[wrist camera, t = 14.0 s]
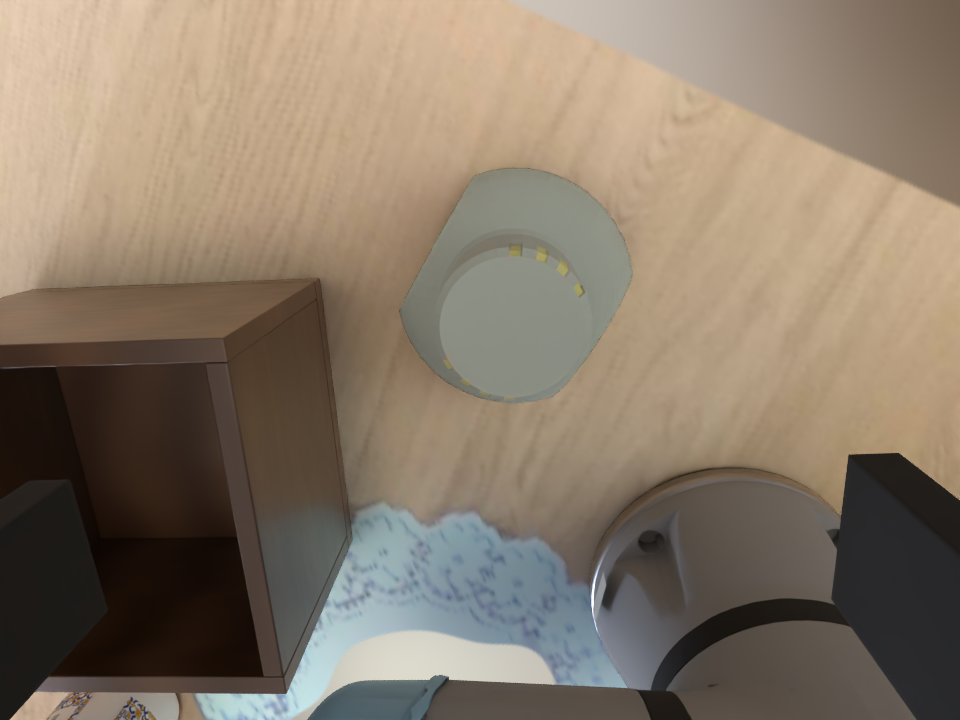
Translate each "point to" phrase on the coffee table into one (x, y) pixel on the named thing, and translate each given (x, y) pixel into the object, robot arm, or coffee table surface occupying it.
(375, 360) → the coffee table surface
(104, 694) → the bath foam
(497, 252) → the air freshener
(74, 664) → the chest
